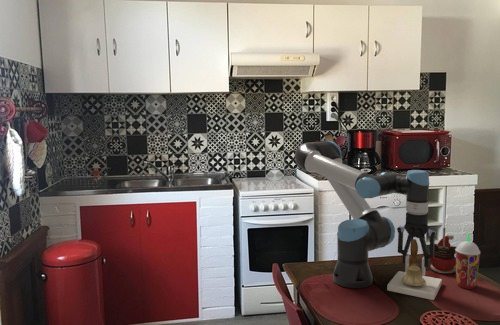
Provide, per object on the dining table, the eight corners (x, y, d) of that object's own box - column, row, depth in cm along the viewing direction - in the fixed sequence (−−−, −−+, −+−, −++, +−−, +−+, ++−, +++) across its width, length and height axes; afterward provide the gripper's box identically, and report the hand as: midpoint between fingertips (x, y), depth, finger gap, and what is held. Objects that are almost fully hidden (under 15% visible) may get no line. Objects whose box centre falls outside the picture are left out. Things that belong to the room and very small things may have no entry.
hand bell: (407, 286, 151) (409, 243, 149) (397, 277, 159) (399, 236, 157) (430, 285, 151) (431, 242, 149) (419, 276, 159) (420, 235, 158)
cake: (427, 272, 172) (428, 229, 170) (430, 264, 180) (432, 223, 178) (455, 276, 167) (457, 232, 164) (458, 269, 174) (460, 227, 172)
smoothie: (482, 291, 153) (484, 237, 151) (457, 289, 155) (459, 236, 152) (474, 282, 161) (477, 231, 159) (451, 280, 163) (453, 230, 160)
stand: (387, 290, 155) (387, 285, 155) (398, 275, 169) (398, 271, 168) (433, 300, 147) (433, 294, 146) (441, 284, 160) (441, 279, 160)
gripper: (389, 211, 156) (387, 271, 159) (441, 217, 146) (439, 281, 149) (394, 207, 162) (393, 265, 165) (445, 213, 152) (443, 274, 155)
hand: (415, 273), depth 157 cm, fingers closed on hand bell, 5 cm apart
